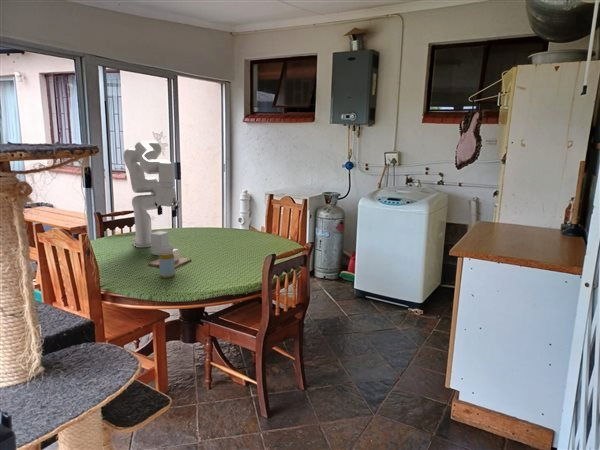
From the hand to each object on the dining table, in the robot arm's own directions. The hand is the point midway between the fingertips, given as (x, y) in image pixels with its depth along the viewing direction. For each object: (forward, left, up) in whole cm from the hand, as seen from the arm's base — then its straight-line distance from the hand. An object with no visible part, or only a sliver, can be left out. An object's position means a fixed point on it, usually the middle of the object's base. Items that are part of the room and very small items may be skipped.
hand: (167, 215), depth 229 cm
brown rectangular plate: (+5, -6, -25) cm, 26 cm away
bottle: (+17, -24, -25) cm, 38 cm away
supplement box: (-12, +7, -25) cm, 29 cm away
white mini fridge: (+5, -6, -24) cm, 25 cm away
